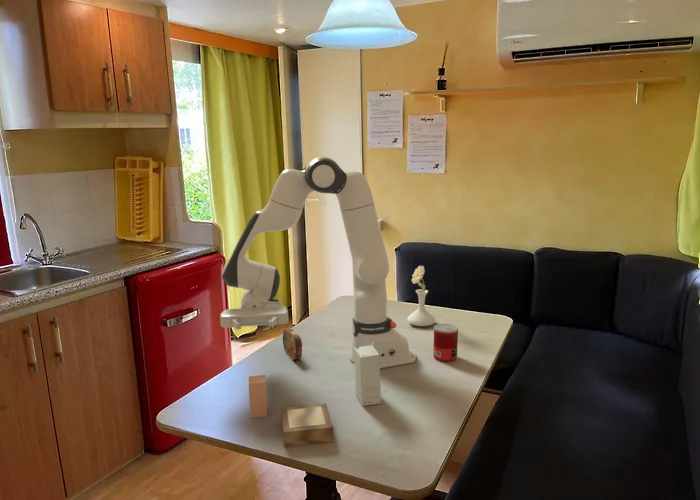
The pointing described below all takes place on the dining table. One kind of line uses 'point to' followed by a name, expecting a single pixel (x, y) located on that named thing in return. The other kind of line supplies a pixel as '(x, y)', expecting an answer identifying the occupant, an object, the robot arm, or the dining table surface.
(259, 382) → the terracotta block
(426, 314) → the flower in vase
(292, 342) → the tin
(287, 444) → the plinth
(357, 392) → the skincare box
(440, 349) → the canned food
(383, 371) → the dining table surface
